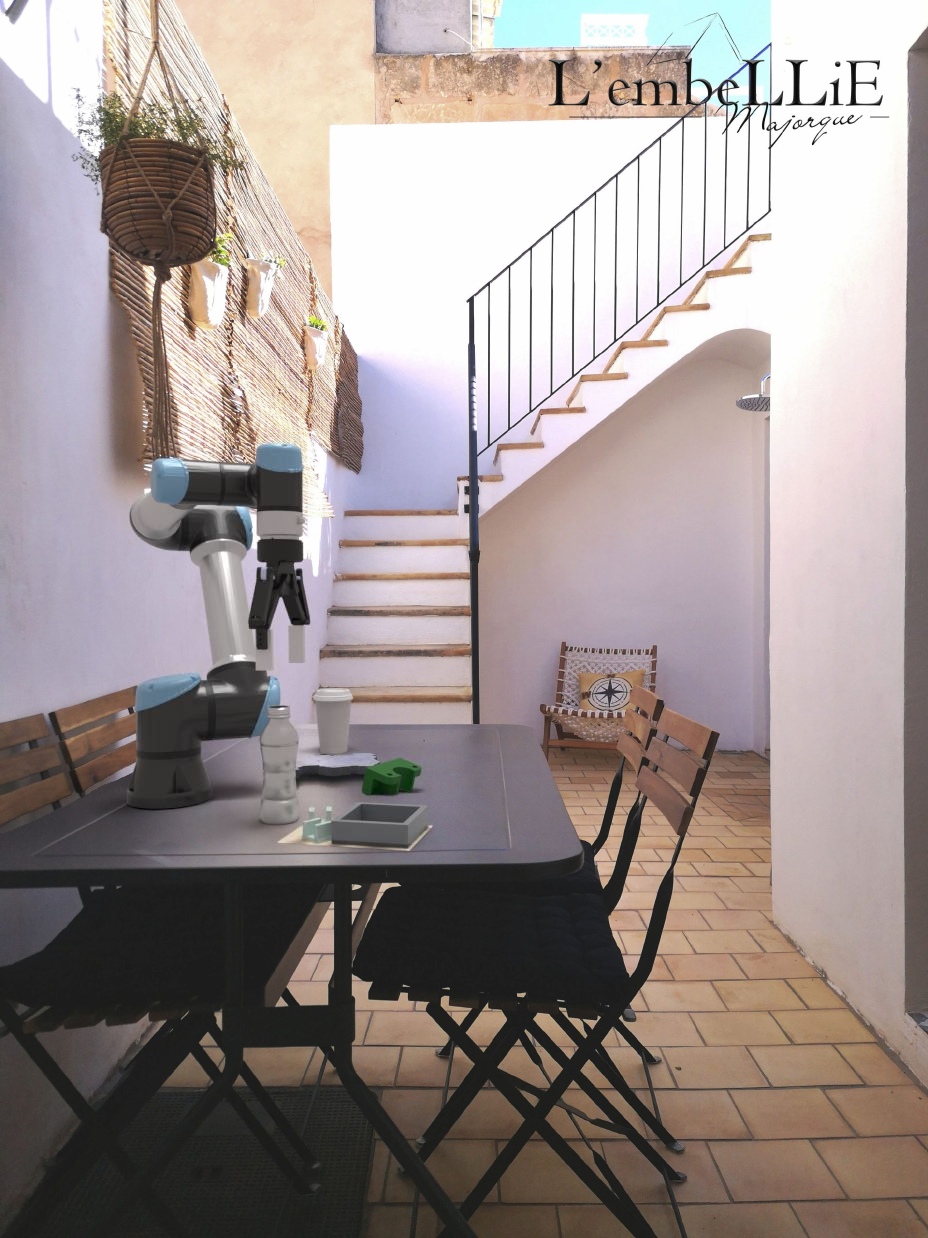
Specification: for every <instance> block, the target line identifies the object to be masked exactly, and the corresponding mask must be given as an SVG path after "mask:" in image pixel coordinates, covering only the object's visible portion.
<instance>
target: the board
mask: <svg viewBox="0 0 928 1238" xmlns="http://www.w3.org/2000/svg"><path fill="white" fill-rule="evenodd" d="M432 827H433V825H429V824H428V828H427V829H426V830H425V831H424V832H423V833H422V834H421V835H420V836H419V837H418V839H417V840H416V841H415V842H414V843H413V844H412V845H411V846H410V847H409V848H392V847H375V846H358V845H342V844H332V840H330V841H326V842H323V843H319V844H318V843H314V842H311V841H308V840H304V839H302V835H303V824H302V825H300V826H299V827H297V828H296V829H295V830H293V831H291V832H290V833H288V834H287V835H285V836H284V837H283V838H281V839H280V840H278V841H277V842H276V844H287V845H288V844H289V845H304V846H305V845H306V846H321V847H339V848H353V849H355V848H357V849H370V850H371V849H373V850H388V851H403V852H405V851H406V852H410V851H411V850H412V849H413V848H414V847H415V846H416V844H417V843H419V841H420V840H421V839H422V838H423V837H424V836H425V835H426V834H427V833H428V832H429V831H430V830H431V829H432Z"/></svg>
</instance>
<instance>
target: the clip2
mask: <svg viewBox="0 0 928 1238" xmlns="http://www.w3.org/2000/svg"><path fill="white" fill-rule="evenodd" d="M321 819H322V818H320V817H315V819H311V820H309V819H308V820H304V821H302V825H303V835H302V839H304V840H308V841H311V842H314V843H318V844H319V843H323V842H326V841H330V840H332V838H331V821H327V822H323V823H321Z"/></svg>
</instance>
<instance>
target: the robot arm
mask: <svg viewBox="0 0 928 1238" xmlns="http://www.w3.org/2000/svg"><path fill="white" fill-rule="evenodd" d="M303 465H304V464H303V453H302V449H301V448H300V447H299V446H297V445H295V444H291V443H282V442H281V443H279V442H272V443H269V442H267V443H262V444H260V445H258V446H257V447H256V450H255V460H254V463H252V462H251V463H248V462H234V461H233V462H231V461H213V460H203V459H202V460H201V459H199V460H198V459H185V458H178V457H172V458H170V457H169V458H157V459H155V460H154V461H153V462H152V465H151V470H150V491H149V492H146V493H143V494H142V495H140V496H139V497H137V498H136V500H135V501H134V502H133V504H132V505H131V508H130V510H129V514H128V515H129V525H130V527H131V529H132V531H133V532H134V534H135V535H136V536H137V537H138V538H140V540H142V541H143V542H144V543H146V544H148V545H149V546H151V547H154V548H157V549H160V550H163V551H171V552H189V558H190V561H191V562H192V563H193V564H194V565H195V566H197V567H199V575H200V582H201V588H202V590H201V591H202V595H203V596H202V597H203V603H204V612H205V618H206V625H207V632H208V638H209V639H208V640H209V647H210V654H211V662H212V667H211V668H210V669H209V670H208V671H207V673H206V679H202V677H201V675H200V674H199V673H198V672H186V673H185V672H184V673H178V674H177V673H176V674H170V675H163V676H158V677H154V678H151V679H147V680H145V681H142V682H141V683H139V684H138V686H137V687H136V689H135V701H134V702H135V703H134V707H133V710H134V711H135V752H136V753H135V754H136V758H135V759H136V760H135V765H134V767H133V770H132V774H131V777H130V780H129V784H128V787H127V789H126V790H127V792H126V803H127V805H129V806H130V807H132V808H133V807H134V808H137V809H138V808H139V809H150V810H152V809H153V810H155V809H156V810H157V809H158V810H159V809H175V808H183V807H189V806H194V805H198V804H202V803H204V802H207V801H209V800H210V799H211V798H212V795H213V793H212V789H213V787H212V783H211V779H210V777H209V775H208V772H207V768H206V766H205V763H204V761H203V757H202V743H203V742H207V741H209V742H210V741H223V740H235V739H245V738H249V739H252V738H255V737H260V736H261V733H262V731H263V729H264V728H265V726H266V725H267V723H268V722H269V718H267V715H268V706H275V705H281V685H280V681H279V680H278V679H279V678H277V676H275V675H274V676H273V675H269V676H268V672H269V671H271V672H272V671H274V660H275V659H274V628H273V629H271V626H272V623H273V620H274V616H275V614H276V610H277V607H278V605H279V601H280V599H282V601H283V604H284V607H285V611H286V613H287V616H288V619H289V622H290V625H287V626H288V663H289V664H305V663H306V632H305V631H306V626H310V624H311V619H310V618H311V614H310V610H309V606H308V605H309V604H308V600H307V595H306V590H305V586H304V585H305V584H304V577H303V569H302V568H297V567H295V564H296V563H303V561H304V542H303V540H302V539H300V538H302V537H303V536H304V534H303V531H304V528H303V527H304V526H303V525H304V524H305V523H306V519H305V518H304V517H303V515H304V514H303V511H304V509H303V505H304V504H303V503H304V502H303V501H304V499H303V497H304V494H303V493H304V492H303V491H304V490H303V487H304V485H303V484H304V483H303V481H304V479H303V478H304V476H303V473H304V472H303V471H304V466H303ZM248 508H249V509H252V510H256V536H258V537H259V539H258V541H256V560H257V561H258V562H259V563H266V564H265V566H258V567H256V575H255V576H256V577H255V585H254V589H253V595H252V600H251V604H250V609H249V603H248V597H247V590H246V584H245V578H244V573H243V566H242V561H243V560H244V559H245V558H246V556H247V553H248V551H250V549H251V548H252V547H253V540H254V533H253V522H252V517H251V514H250V511H249V509H248ZM253 630H254V633H255V636H254V634H253ZM254 637H255V638H254ZM254 639H255V640H254Z"/></svg>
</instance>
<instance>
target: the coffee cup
mask: <svg viewBox="0 0 928 1238" xmlns="http://www.w3.org/2000/svg"><path fill="white" fill-rule="evenodd" d="M353 699H354V697H353V694H352V693H351V690H350V689H348V688H338V687H337V688H334V687H333V688H332V687H331V688H321V689H317V690H316V692H315V694H314V695H313V701H315V703H314V705H315V711H316V720H317V721H316V722H317V731H318V732H317V733H318V742H319V752H320V754H323V755H342V754H346V753H347V752H348V748H349V747H348V746H349V745H348V744H349V735H350V734H349V732H350V717H351V707H352V700H353Z"/></svg>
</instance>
